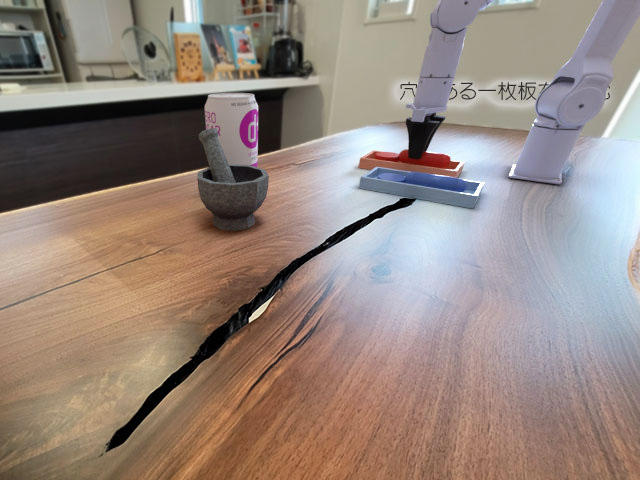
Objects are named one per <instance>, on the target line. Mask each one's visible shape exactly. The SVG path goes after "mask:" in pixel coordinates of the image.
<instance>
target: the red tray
mask: <svg viewBox="0 0 640 480" xmlns="http://www.w3.org/2000/svg"><path fill="white" fill-rule="evenodd" d="M378 152H383V151H381V150H371V151H369V152H368V153H367V154H365V155H363V156H361V157H359V162H358V167H357V168H358V169H363V170H368V171H371V170H372V169H374V168H375V167H382V168H389V169H395V170H402V171H409V172H420V173H427V174H434V175H441V176H448V177H455V178H459V176H460V175H461V173H462V171H463V168H464V166H465V161H462V160H454V159H451V161H450V164H449V165H448V166H447V167H445V168H436V167H428V166H421V165H414V164H406V163H402V162H400V161H399V162H391V161H383V160H376V159H375V155H376V153H378ZM396 153H397V152H396ZM397 154H399V153H397Z"/></svg>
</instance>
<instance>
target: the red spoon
mask: <svg viewBox="0 0 640 480" xmlns="http://www.w3.org/2000/svg"><path fill="white" fill-rule="evenodd" d="M375 159H376V160H383V161H391V162H399V161H400V162H402V163H406V164H414V165H421V166H428V167H436V168H445V167H447V166H448V165H449V164H450V161H451V160H452V159H451V156H450V155H449V154H447V153H441V152H433V151H426V152H425V151H424V152H423V154H422V156H421V158H420V159H419V160H418V159H410V158H408V148H407V149H403V150H401V151H400V152H399V153H398V154H397V152H393V151H382V152H378V153H376V155H375Z"/></svg>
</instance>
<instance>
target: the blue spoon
mask: <svg viewBox="0 0 640 480" xmlns="http://www.w3.org/2000/svg"><path fill="white" fill-rule="evenodd" d="M377 179H382V180H388V181H394V182H401V183H407V184H413V185H419V186H425V187H431V188H438V189H444V190H450V191H456V192H462V193H463V192H464V191H465V189H466V187H467V184H466V181H465V180H466V179H464V178H460V177H457V178H455V177H448V176H441V175H434V174H427V173H420V172H410V173H408V174H407V175H406V177H405V176H403V175H399V174H393V173H384V174H380V175H378V178H377Z"/></svg>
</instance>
